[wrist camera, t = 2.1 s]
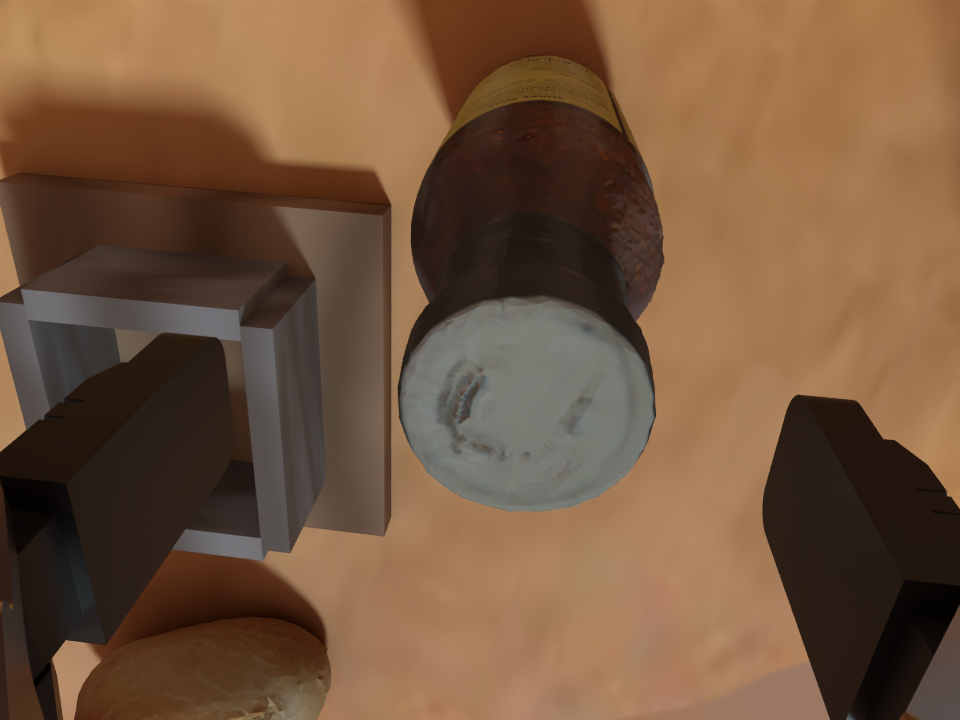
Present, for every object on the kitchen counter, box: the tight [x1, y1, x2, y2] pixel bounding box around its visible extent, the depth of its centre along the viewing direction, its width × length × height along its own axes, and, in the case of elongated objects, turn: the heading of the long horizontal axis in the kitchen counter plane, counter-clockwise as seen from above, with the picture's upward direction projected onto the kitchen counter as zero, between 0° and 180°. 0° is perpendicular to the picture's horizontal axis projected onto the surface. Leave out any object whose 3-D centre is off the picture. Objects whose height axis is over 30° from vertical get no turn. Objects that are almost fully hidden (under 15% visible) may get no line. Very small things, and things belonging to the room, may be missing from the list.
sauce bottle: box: [398, 55, 664, 511], centre depth 20 cm, size 7×6×20 cm
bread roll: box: [74, 617, 331, 720], centre depth 41 cm, size 10×15×8 cm, turn 113°
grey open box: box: [0, 173, 391, 561], centre depth 32 cm, size 16×16×6 cm
